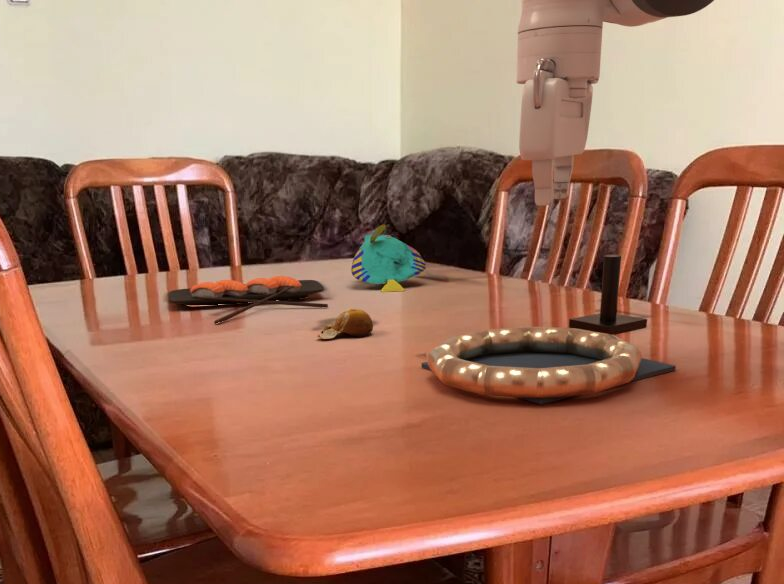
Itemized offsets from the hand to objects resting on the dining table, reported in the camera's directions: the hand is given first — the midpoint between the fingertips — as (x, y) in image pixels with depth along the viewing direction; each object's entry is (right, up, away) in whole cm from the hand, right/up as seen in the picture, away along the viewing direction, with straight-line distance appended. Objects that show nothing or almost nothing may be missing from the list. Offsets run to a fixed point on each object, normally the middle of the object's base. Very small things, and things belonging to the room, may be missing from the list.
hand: (552, 201), depth 94 cm
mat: (+1, -17, +8) cm, 19 cm away
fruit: (-26, -8, +32) cm, 42 cm away
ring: (-2, -17, +4) cm, 18 cm away
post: (+14, -7, +29) cm, 33 cm away
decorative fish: (-18, +13, +74) cm, 77 cm away
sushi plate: (-44, +4, +57) cm, 72 cm away
